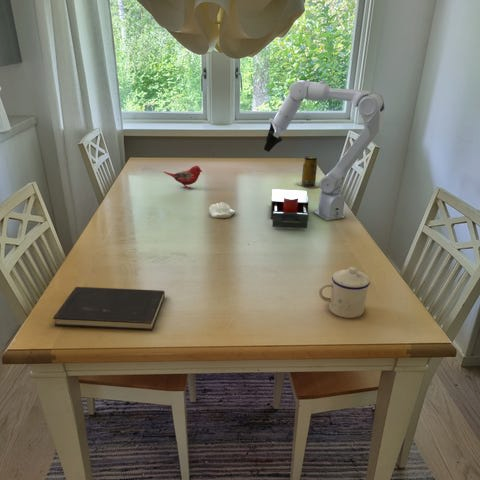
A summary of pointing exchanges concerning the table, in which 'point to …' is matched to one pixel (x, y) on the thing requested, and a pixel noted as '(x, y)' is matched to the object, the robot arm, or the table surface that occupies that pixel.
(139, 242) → the table surface
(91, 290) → the hardcover book
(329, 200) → the robot arm
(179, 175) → the decorative bird figurine
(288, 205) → the can
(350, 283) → the teacup with lid
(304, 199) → the cabinet
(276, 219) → the drawer
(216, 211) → the white lumpy piece
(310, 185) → the condiment
